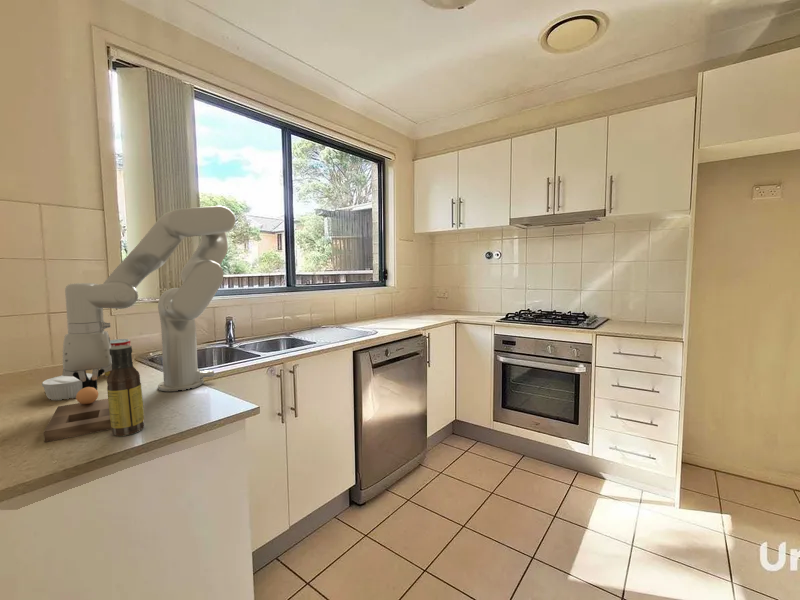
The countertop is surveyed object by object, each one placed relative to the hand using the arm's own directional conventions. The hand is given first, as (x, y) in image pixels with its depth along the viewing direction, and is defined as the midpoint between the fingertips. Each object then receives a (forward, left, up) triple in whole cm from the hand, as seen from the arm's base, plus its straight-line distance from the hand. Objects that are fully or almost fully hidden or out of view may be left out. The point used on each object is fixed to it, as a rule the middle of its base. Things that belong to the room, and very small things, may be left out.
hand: (90, 393), depth 101 cm
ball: (0, +7, +2) cm, 7 cm away
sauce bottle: (-9, +27, -3) cm, 28 cm away
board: (-1, +14, -3) cm, 15 cm away
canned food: (-5, -34, -3) cm, 34 cm away
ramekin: (+6, -14, -3) cm, 15 cm away
